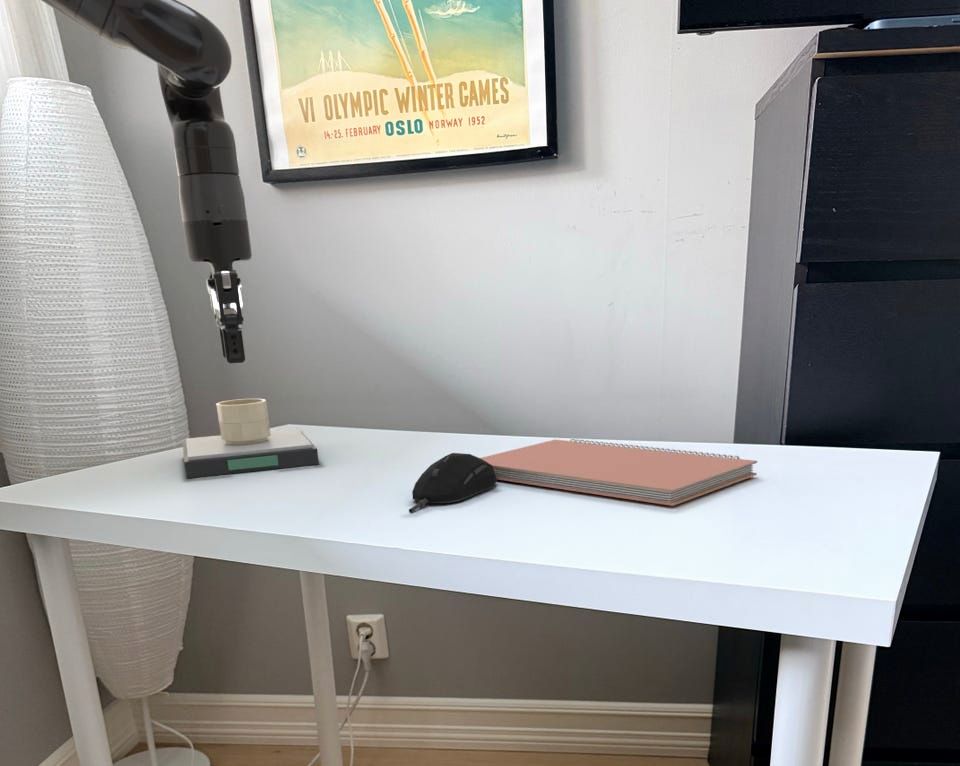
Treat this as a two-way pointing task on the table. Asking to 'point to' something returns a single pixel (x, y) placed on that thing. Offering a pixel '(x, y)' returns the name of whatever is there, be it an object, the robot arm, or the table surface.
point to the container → (243, 421)
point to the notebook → (620, 470)
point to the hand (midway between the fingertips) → (234, 360)
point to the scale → (248, 454)
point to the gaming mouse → (453, 480)
